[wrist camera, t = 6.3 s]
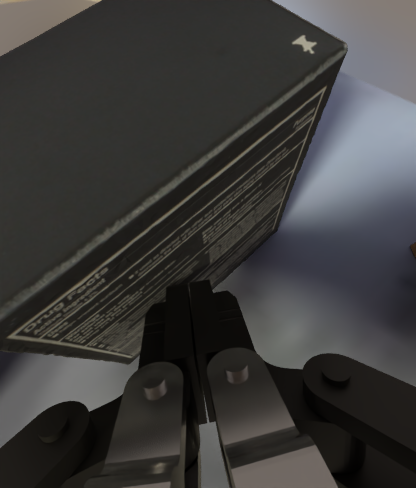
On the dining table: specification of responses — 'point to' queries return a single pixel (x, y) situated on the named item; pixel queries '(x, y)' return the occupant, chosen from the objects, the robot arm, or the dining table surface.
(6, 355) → the dining table surface
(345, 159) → the dining table surface
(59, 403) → the robot arm
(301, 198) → the dining table surface
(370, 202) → the dining table surface
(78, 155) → the small box
